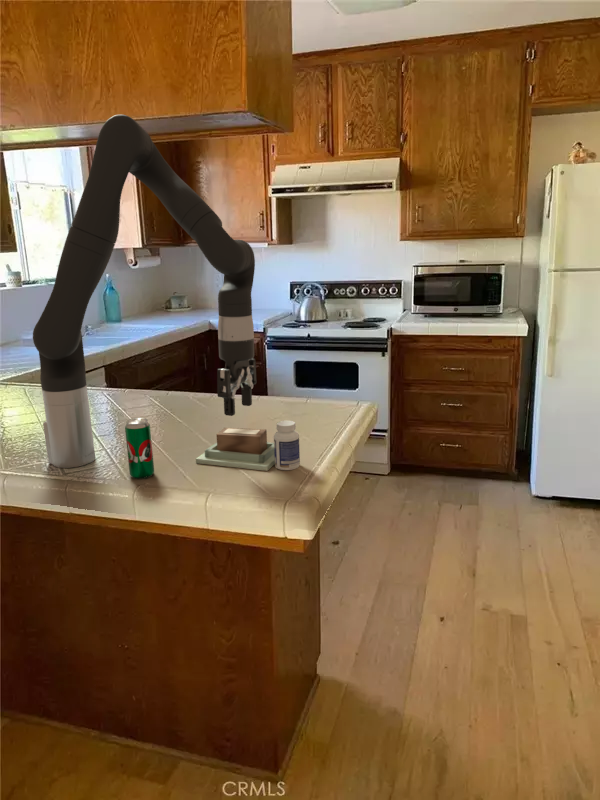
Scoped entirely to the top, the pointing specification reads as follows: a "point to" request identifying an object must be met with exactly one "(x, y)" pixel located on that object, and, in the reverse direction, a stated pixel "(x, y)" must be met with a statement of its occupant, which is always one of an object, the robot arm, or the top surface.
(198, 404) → the top surface
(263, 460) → the pale green tray
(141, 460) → the soda can
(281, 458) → the pill bottle
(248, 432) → the brown block
